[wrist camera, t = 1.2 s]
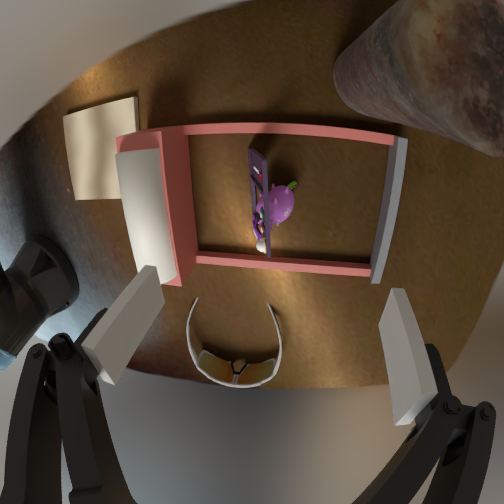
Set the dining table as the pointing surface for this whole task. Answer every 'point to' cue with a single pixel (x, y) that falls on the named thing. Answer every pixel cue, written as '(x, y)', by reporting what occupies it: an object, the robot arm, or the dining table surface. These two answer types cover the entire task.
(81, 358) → the robot arm
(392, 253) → the dining table surface
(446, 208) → the dining table surface
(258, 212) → the purple toy
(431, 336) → the dining table surface
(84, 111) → the plate
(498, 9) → the brown stone cylinder
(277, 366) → the sunglasses
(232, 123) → the frame
